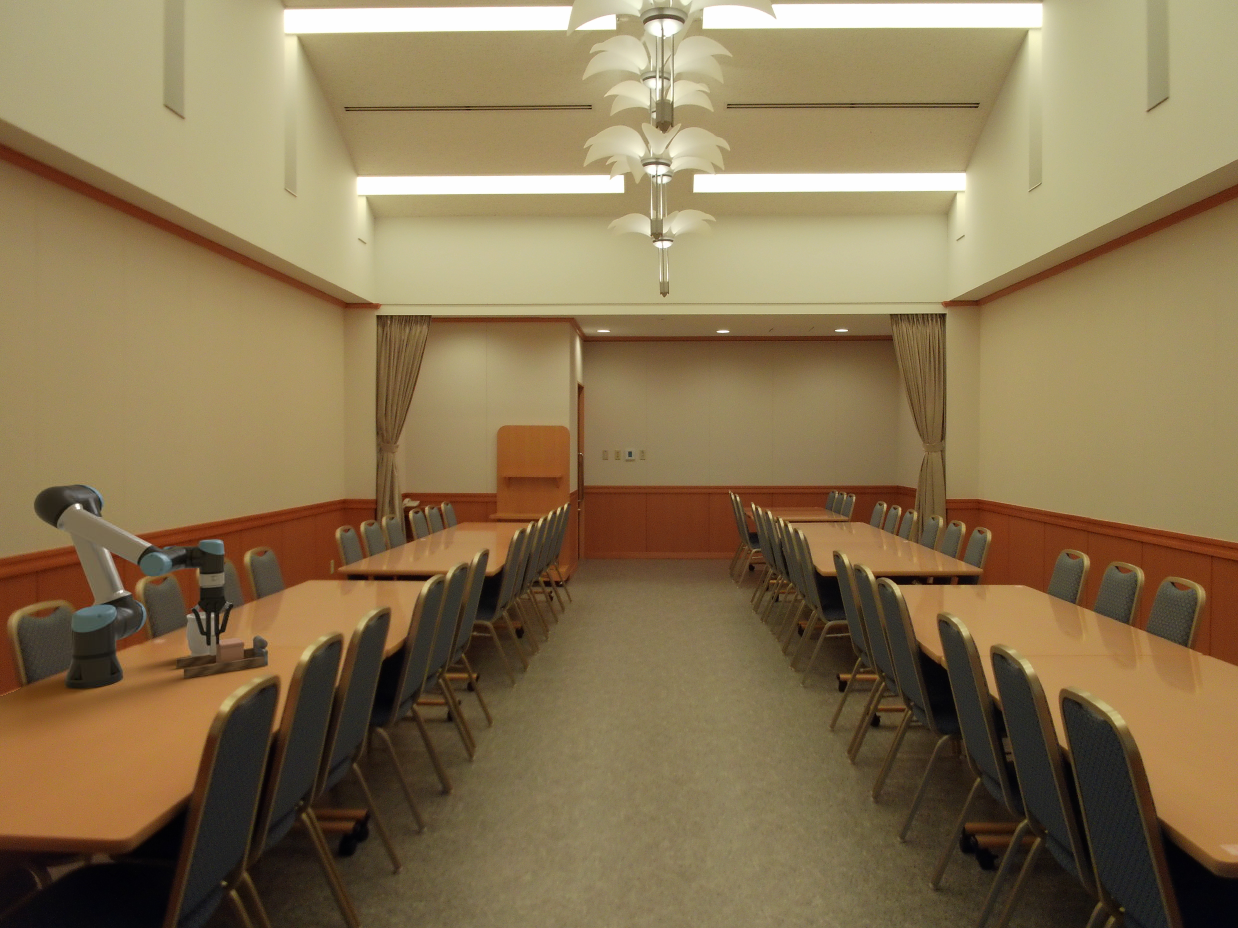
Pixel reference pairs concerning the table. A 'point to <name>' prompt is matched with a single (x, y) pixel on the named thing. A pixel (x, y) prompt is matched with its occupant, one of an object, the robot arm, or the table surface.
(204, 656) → the bay
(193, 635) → the jar
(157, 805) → the table surface
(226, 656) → the pink block
